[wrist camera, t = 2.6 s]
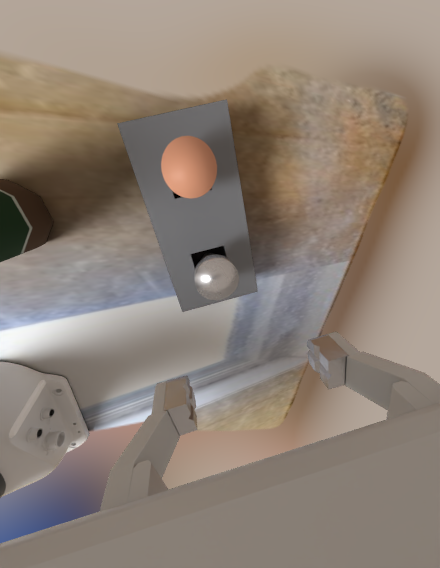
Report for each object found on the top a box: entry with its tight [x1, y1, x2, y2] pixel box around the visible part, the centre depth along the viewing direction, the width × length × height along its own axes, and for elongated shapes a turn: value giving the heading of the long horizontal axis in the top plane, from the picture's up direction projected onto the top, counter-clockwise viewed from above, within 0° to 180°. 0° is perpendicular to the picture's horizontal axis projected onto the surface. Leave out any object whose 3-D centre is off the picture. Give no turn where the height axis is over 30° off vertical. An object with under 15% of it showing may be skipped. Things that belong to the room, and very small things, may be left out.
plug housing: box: [118, 100, 258, 312], centre depth 26 cm, size 20×10×5 cm, turn 12°
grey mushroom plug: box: [194, 253, 239, 300], centre depth 24 cm, size 4×4×6 cm
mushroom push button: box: [161, 136, 217, 198], centre depth 20 cm, size 4×4×6 cm
